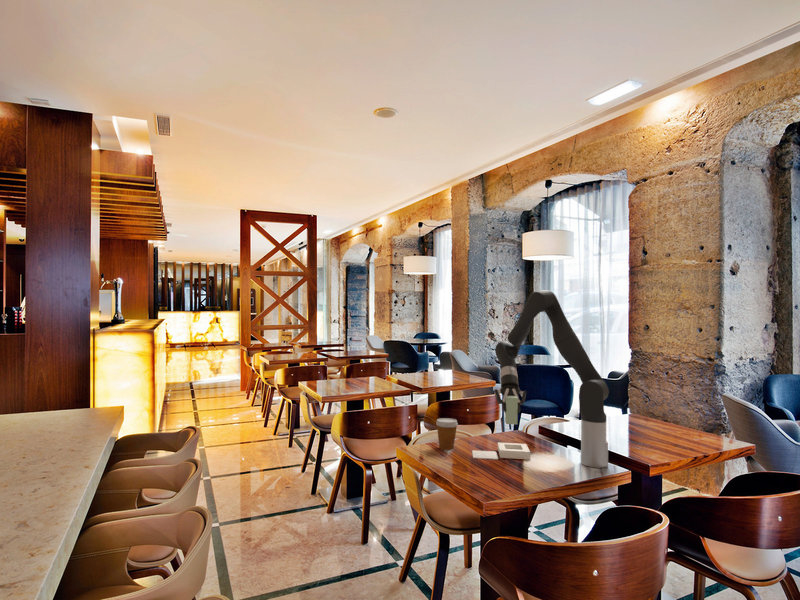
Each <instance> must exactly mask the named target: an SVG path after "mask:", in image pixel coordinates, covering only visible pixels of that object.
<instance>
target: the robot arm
mask: <svg viewBox="0 0 800 600" xmlns="http://www.w3.org/2000/svg"><path fill="white" fill-rule="evenodd" d="M540 313H545V314H546V315H547V318H548V319H549V321H550V324H551V327H552V328H551V330H552V339H553V343H554V345H555V346H556V348H557V351H558V353H560V355H561V357H562V358H563V359H564V360H565V362H567V364H568V365H570V367H571V368H572V369H573V370H574V371H575V373H576V374H577V376H578V377H579V380H580V381H581V385H580V386H579V391H578V392H579V393H578V399H579V400H578V403H579V412H580V418H581V421H580V423H581V424H580V426H581V427H580V429H581V430H580V463H581V464H582V465H583V466H586V467H590V468H597V469H599V468H600V469H602V468H608V467H609V442H608V441H607V414H606V412H605V404H604V401H605V400H606V399H607V398H608V396H609V393H610V391H609V387H608V384H607V383H606V382H605V380H604V378H602V376H601V375H600V374H599V372H598V370H596V368H595V366H594V365H593V363H592V360H591V359H590V357H589V356H588V354H587V352H586V350H585V349H584V346H583V344H582V343H581V341H580V339H579V337H578V336H577V334H576V333H575V331H574V330H573V327H572V326H571V324H570V322H569V321H568V319H567V316H565V313H564V311H563V309H562V307H561V304H560V302H559V299H558V297H557V296H556V294H555V293H554V292H553V291H551V290H549V289H541V290H536V291H533V292H532V293H531V294H530V295H529V296H528V298H527V300H526V302H525V305H524V307H523V309H522V312H521V314H520V316H519V318H518V320H517V321H516V323H515V324H514V326H513V327H512V329H511V330H510V331H509V333H508V335H507V341H508V342H506V341H499V342H498V343H497V344H496V345H495V349H494V350H495V352H494V353H495V355H496V357H497V360H498V363H499V367H500V368H499V369H500V375H499V376H500V389H494V391H493V392H494V397H495V399H496V402H497V403H498V405H501V407H502V411H503V412H504V414H505V413H506V403H505V401H506V396H517V398H518V409H517V411H518V414H520V412H521V406H524V404H525V401H526V396H527V390H523V391H522V390H521V389H520V387H519V385H520V384H519V377H518V371H517V362H516V360H515V359H516V358H518V355H519V351H520V349H521V347H522V344H523V342H524V340H525V339H526V338H527V336H528V335H529V333H530V330H531V326H532V323H533V320H534V319H535V318H536V317H537V316H538V315H539V314H540ZM500 395H502V397H503V398H502V399H501V396H500ZM519 395H520V396H521V400H520V397H519Z"/></svg>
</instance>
